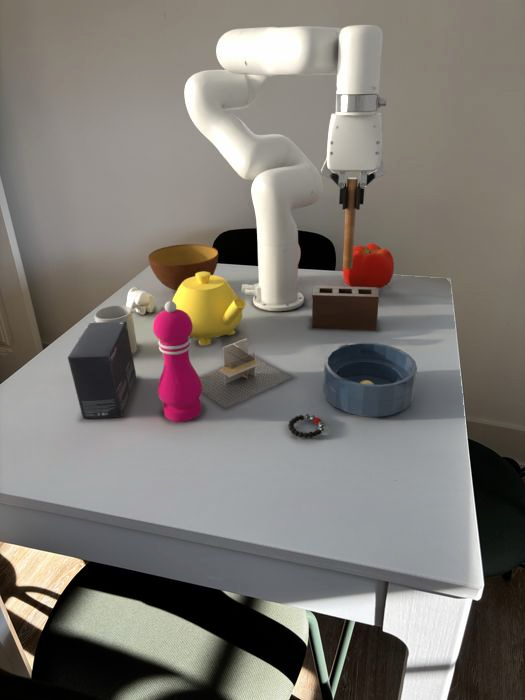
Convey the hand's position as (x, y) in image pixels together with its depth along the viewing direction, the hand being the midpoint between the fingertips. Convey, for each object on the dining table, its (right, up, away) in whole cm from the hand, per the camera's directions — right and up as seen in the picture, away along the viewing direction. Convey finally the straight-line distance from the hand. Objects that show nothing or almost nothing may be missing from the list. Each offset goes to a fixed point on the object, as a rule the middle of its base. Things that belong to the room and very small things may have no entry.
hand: (350, 207), depth 103 cm
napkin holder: (-22, -34, -6) cm, 41 cm away
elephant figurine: (-46, -19, +23) cm, 55 cm away
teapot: (-28, -25, +11) cm, 39 cm away
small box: (-44, -37, -10) cm, 59 cm away
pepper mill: (-31, -39, -15) cm, 52 cm away
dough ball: (-1, -34, -15) cm, 37 cm away
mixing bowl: (+1, -36, -12) cm, 38 cm away
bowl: (-37, -13, +35) cm, 53 cm away
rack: (+1, -22, +14) cm, 26 cm away
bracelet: (-11, -41, -20) cm, 47 cm away
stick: (0, -11, +6) cm, 12 cm away
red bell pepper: (+10, -12, +34) cm, 38 cm away
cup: (-48, -29, +4) cm, 57 cm away
